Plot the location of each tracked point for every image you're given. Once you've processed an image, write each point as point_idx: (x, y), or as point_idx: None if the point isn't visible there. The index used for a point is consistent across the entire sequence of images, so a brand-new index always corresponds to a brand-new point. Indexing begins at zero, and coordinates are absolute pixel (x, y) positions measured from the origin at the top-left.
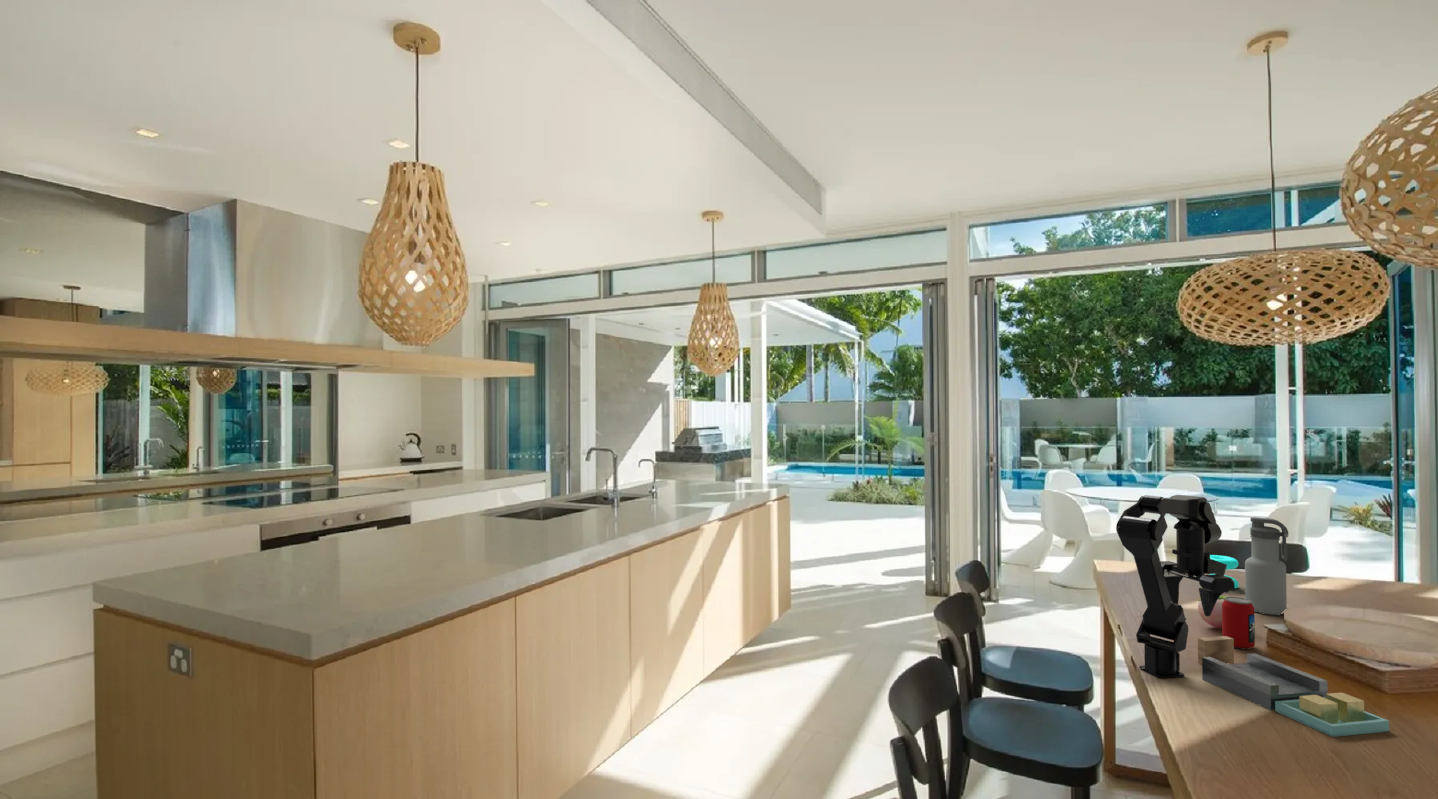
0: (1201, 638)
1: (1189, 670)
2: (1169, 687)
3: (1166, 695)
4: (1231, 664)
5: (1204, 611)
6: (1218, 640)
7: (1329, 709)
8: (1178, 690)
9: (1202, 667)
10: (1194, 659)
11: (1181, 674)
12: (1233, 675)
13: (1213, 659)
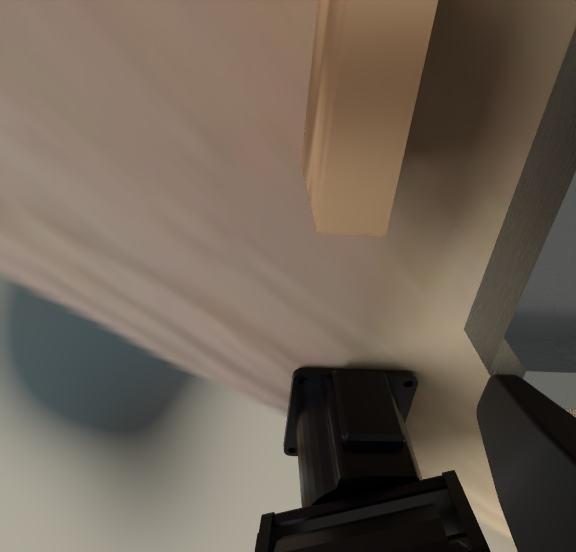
0: (334, 216)
1: (369, 297)
2: (451, 467)
3: (485, 505)
4: (562, 220)
5: (508, 480)
6: (413, 101)
7: None
8: (481, 461)
9: (487, 367)
10: (252, 135)
11: (412, 388)
12: None
13: (559, 385)
